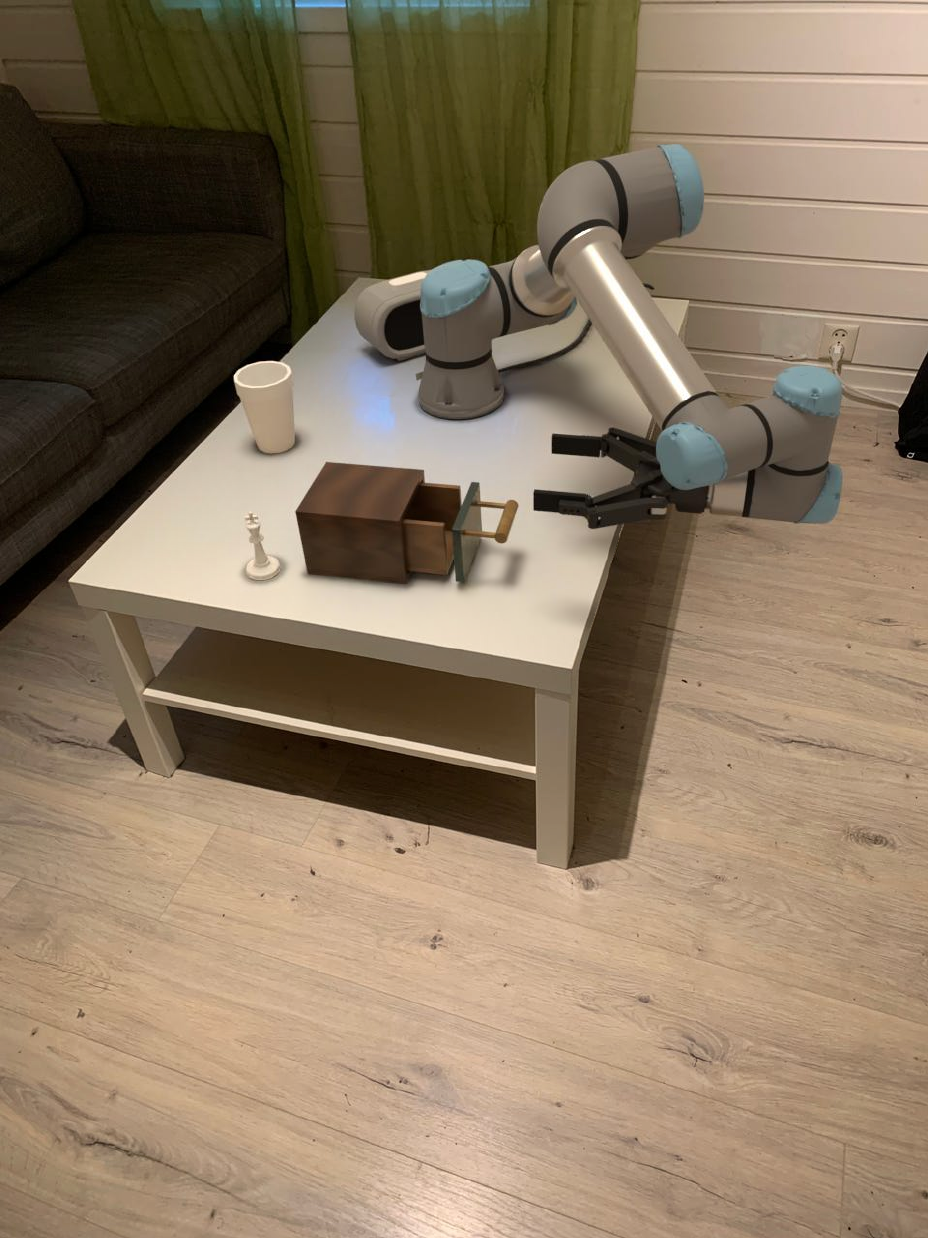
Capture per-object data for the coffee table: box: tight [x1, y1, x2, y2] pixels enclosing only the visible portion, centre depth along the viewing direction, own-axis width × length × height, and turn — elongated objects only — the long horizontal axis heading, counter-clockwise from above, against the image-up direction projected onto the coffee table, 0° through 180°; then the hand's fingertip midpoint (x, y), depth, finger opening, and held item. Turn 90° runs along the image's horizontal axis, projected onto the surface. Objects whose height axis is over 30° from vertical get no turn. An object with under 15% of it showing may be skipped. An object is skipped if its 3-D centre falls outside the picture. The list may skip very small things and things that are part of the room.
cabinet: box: [294, 461, 426, 585], centre depth 143 cm, size 15×13×11 cm
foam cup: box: [233, 360, 296, 454], centre depth 168 cm, size 10×9×13 cm
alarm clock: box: [353, 269, 432, 362], centre depth 193 cm, size 21×10×13 cm, turn 120°
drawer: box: [402, 481, 519, 583], centre depth 141 cm, size 20×12×9 cm, turn 77°
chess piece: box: [244, 511, 281, 581], centre depth 142 cm, size 5×5×10 cm
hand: (542, 470), depth 131 cm, fingers open, 13 cm apart
